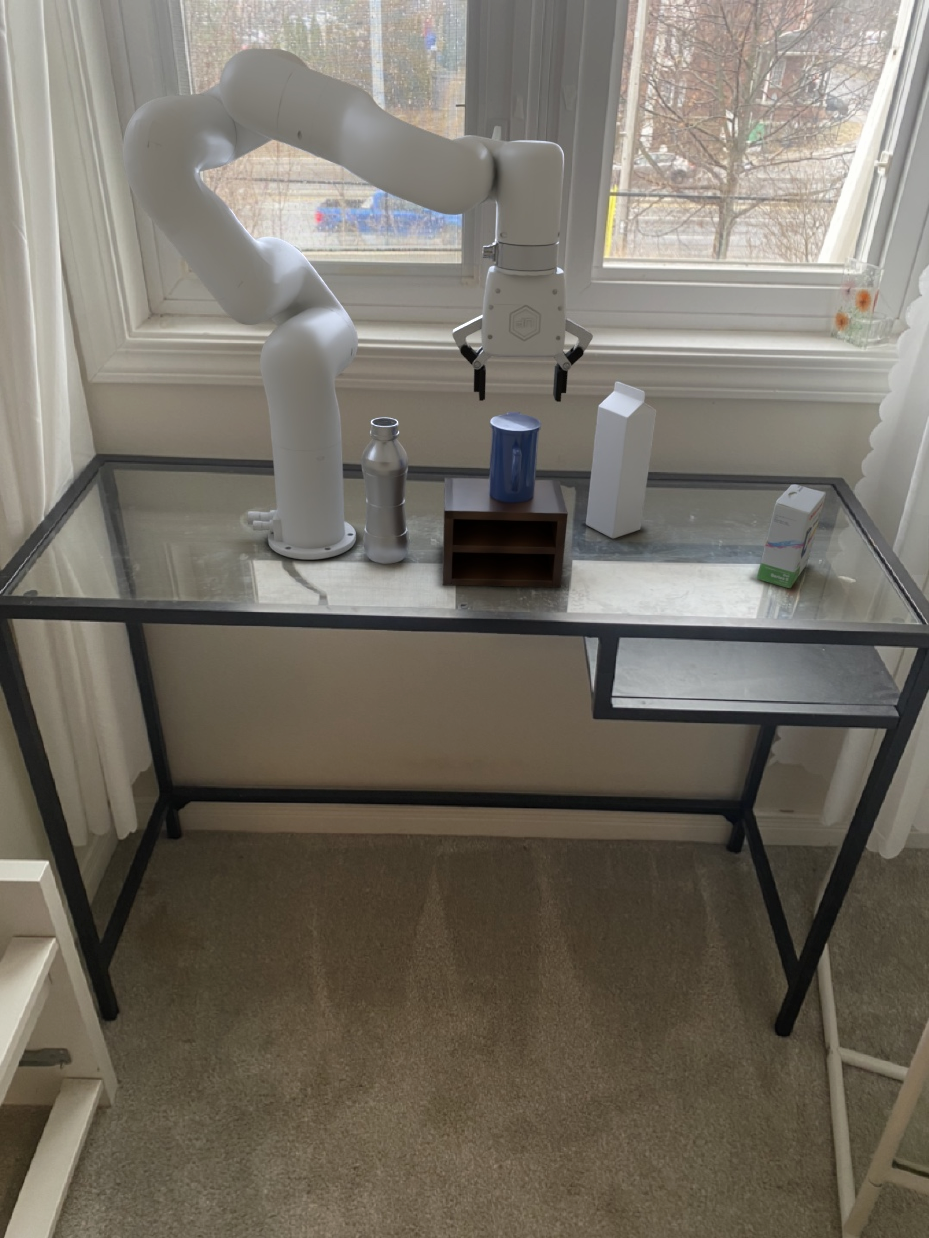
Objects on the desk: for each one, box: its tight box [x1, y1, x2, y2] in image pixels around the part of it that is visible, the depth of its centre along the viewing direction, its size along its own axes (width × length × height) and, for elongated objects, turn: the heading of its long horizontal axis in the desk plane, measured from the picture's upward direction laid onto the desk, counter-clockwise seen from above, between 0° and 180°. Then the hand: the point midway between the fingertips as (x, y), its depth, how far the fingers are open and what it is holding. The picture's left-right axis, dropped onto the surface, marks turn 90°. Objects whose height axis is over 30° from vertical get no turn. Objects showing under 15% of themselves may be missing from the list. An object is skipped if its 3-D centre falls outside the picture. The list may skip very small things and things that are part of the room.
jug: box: [488, 411, 542, 503], centre depth 126 cm, size 7×10×10 cm, turn 1°
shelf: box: [442, 477, 569, 588], centre depth 132 cm, size 16×11×11 cm
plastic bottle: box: [360, 417, 410, 565], centre depth 131 cm, size 6×7×20 cm
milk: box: [585, 380, 657, 539], centre depth 142 cm, size 6×6×22 cm
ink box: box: [756, 483, 827, 589], centre depth 133 cm, size 9×5×12 cm, turn 148°
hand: (519, 398), depth 123 cm, fingers open, 9 cm apart
